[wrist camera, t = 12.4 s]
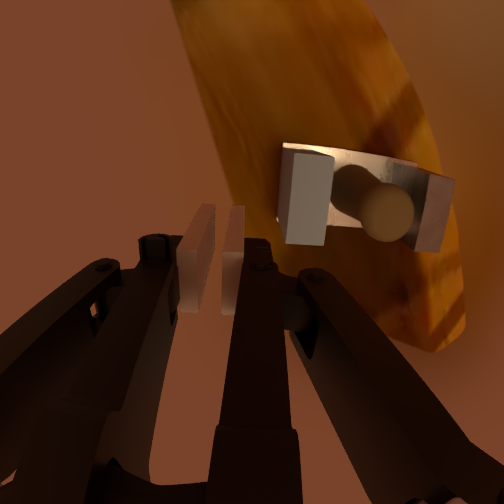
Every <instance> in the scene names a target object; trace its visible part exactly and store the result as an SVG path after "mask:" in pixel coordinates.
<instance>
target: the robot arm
mask: <svg viewBox="0 0 504 504" xmlns="http://www.w3.org/2000/svg"><path fill="white" fill-rule="evenodd" d="M244 228H245V206H240V205H232V207H231V211H230V216H229V221H228V226H227V232H226V236H225V241H224V246H223V252H222V315H235V316H234V322H233V329H232V336H231V343H230V350H229V357H228V364H227V371H226V378H225V385H224V392H223V399H222V406H221V413H220V420H219V424H218V425H217V426H216V430H215V435H214V441H213V448H212V455H211V461H210V469H209V476H208V482H200V483H191V484H178V485H156V484H153V483H151V482H150V475H149V458H150V451H151V446H152V440H153V433H154V428H155V423H156V417H157V412H158V406H159V402H160V396H161V391H162V387H163V381H164V377H165V371H166V368H167V363H168V359H169V354H170V349H171V345H172V341H173V337H174V332H175V328H176V324H177V320H178V315H177V306H178V303H180V312H190V313H199V309H200V305H201V301H202V297H203V293H204V289H205V285H206V281H207V277H208V273H209V269H210V265H211V261H212V257H213V253H214V249H215V204H202V205H201V207H200V208H199V210H198V212H197V213H196V215H195V217H194V219H193V220H192V222H191V224H190V226H189V227H188V229H187V231H186V233H185V234H184V236H177V235H171V236H169V235H166V234H150V235H146V236H143V237H141V238H140V239H138V242H139V253H140V261H139V263H138V264H137V266H136V267H135V268H133V269H124V270H120V263H119V262H118V261H117V260H115V259H108V258H104V259H103V258H102V259H99V260H97V261H94V262H93V263H91V264H89V265H88V266H86V267H85V268H83V269H82V270H81V271H80V272H78V273H77V274H75V275H74V276H73V277H72V278H70V279H69V280H67V281H66V282H65V283H63V284H62V285H61V286H60V287H58V288H57V289H55V290H54V291H53V292H52V293H50V294H49V295H48V296H46V297H45V298H44V299H43V300H41V301H40V302H39V303H38V304H37V305H35V306H34V307H33V308H31V309H30V310H29V311H28V312H27V313H25V314H24V315H23V316H22V317H21V318H19V319H18V320H17V321H16V322H15V323H14V324H12V325H11V326H10V327H9V328H8V329H6V330H5V331H4V332H3V333H2V334H1V335H0V504H303V496H302V480H301V464H300V450H299V440H298V434H297V431H296V429H292V426H291V414H290V400H289V385H288V373H287V360H286V347H285V335H284V329H286V330H289V335H290V338H291V340H292V342H293V344H294V346H295V348H296V351H297V353H298V355H299V357H300V359H301V361H302V363H303V365H304V367H305V369H306V371H307V373H308V375H309V377H310V379H311V381H312V383H313V385H314V387H315V390H316V392H317V394H318V396H319V398H320V400H321V402H322V404H323V406H324V408H325V410H326V412H327V414H328V416H329V418H330V420H331V422H332V424H333V426H334V428H335V431H336V432H337V435H338V437H339V439H340V441H341V442H342V445H343V447H344V449H345V451H346V453H347V455H348V457H349V459H350V461H351V463H352V465H353V467H354V469H355V471H356V473H357V475H358V477H359V479H360V481H361V483H362V485H363V488H364V489H365V492H366V493H367V496H368V497H369V499H370V501H371V503H372V504H504V465H502V464H501V463H499V462H498V461H497V460H495V459H494V458H492V457H491V456H489V455H488V454H487V453H485V452H484V451H482V450H481V449H480V448H478V447H477V446H475V445H474V444H473V443H471V442H470V441H469V439H468V438H467V437H466V435H465V434H464V432H463V431H462V430H461V428H460V427H459V426H458V424H457V423H456V422H455V421H454V419H453V418H452V417H451V415H450V414H449V413H448V411H447V410H446V409H445V407H444V406H443V405H442V404H441V402H440V401H439V400H438V398H437V397H436V396H435V395H434V393H433V392H432V391H431V390H430V388H429V387H428V386H427V385H426V383H425V382H424V381H423V380H422V378H421V377H420V376H419V375H418V373H417V372H416V371H415V370H414V369H413V367H412V366H411V365H410V364H409V363H408V361H407V360H406V359H405V358H404V357H403V355H402V354H401V353H400V352H399V351H398V349H397V348H396V347H395V346H394V345H393V343H392V342H391V341H390V340H389V339H388V337H387V336H386V335H385V334H384V333H383V332H382V330H381V329H380V328H379V327H378V326H377V325H376V323H375V322H374V321H373V320H372V319H371V318H370V316H369V315H368V314H367V313H366V312H365V311H364V310H363V308H362V307H361V306H360V305H359V304H358V303H357V302H356V301H355V299H354V298H353V297H352V296H351V295H350V294H349V293H348V292H347V290H346V289H345V288H344V287H343V286H342V285H341V284H340V283H339V282H338V280H337V279H336V278H335V277H334V276H333V275H332V274H330V273H329V272H327V271H325V270H323V269H319V268H308V269H303V270H301V271H300V272H299V274H298V278H296V277H291V276H287V275H284V274H282V273H280V272H279V271H278V266H277V264H276V263H275V262H273V257H272V251H271V246H270V243H269V242H268V241H267V240H266V239H258V238H244ZM93 303H94V304H95V308H96V312H97V313H96V314H95V315H94V316H93V317H92V315H91V311H90V307H91V306H92V304H93ZM16 469H17V470H16ZM15 470H16V473H15V475H14V478H13V481H11V482H9V483H7V484H5V485H2V484H1V482H2V481H4V480H5V479H7V478H8V477H9V476H10V475H11V474H12V473H13V472H14V471H15Z"/></svg>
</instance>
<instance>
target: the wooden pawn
mask: <svg viewBox="0 0 504 504" xmlns="http://www.w3.org/2000/svg"><path fill="white" fill-rule="evenodd" d="M330 201H331V203H332V205H333V206H334V207H335V208H336V209H337V210H338V211H340V212H341V213H343V214H345V215H348V216H350V217H352V218H354V219H356V220H358V221H360V222H361V226H362V227H363V229H364V230H365V231H366V233H367V234H368V235H370V236H371V237H372V238H374V239H376V240H379V241H383V242H390V241H394V240H396V239H399V238H401V237H402V236H403V235H404V234H406V233H407V231H408V230H409V228H410V227H411V225H412V222H413V219H414V207H413V202H412V200H411V198H410V196H409V195H408V193H407V192H406V191H405V190H403V189H402V188H401V187H400V186H397V185H394V184H391V183H383V182H381V181H380V180H379V179H378V178H377V177H375V176H374V175H373V174H372V173H371V172H369V171H368V170H367V169H365V168H364V167H363V166H360V165H356V164H349V165H345V166H343V167H341V168H339V169H338V170H337V171H336V172H335V173H334V174H333V181H332V189H331V197H330Z"/></svg>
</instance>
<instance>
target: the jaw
mask: <svg viewBox="0 0 504 504" xmlns="http://www.w3.org/2000/svg"><path fill="white" fill-rule="evenodd" d="M334 163H335V157H333V156H330V155H327V154H324V153H321V152H318V151H315V150H307V149H297V148H286V147H283V154H282V166H281V179H280V191H279V202H278V213H277V218H278V221H279V225H280V228H281V231H282V234H283V237H284V240H285V243H286V244H304V245H322V246H324V239H325V233H326V226H327V219H328V212H329V205H330V197H331V189H332V181H333V172H334Z"/></svg>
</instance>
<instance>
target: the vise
mask: <svg viewBox="0 0 504 504" xmlns="http://www.w3.org/2000/svg"><path fill="white" fill-rule="evenodd" d="M283 147H286V148H297V149H307V150H315V151H318V152H321V153H324V154H327V155H330V156H333V157H335V163H334V172H333V174H334V173H335V172H336V171H337V170H338V169H339V168H341V167H343V166H345V165H349V164H356V165H360V166H363V167H364V168H365V169H367V170H368V171H369V172H371V173H372V174H373V175H374V176H375V177H377V178H378V179H379V180H380V181H381V182H383V183H391V184H394V185H397V186H400V187H401V188H402V189H403V190H405V191H406V192H407V193H408V195H409V196H410V198H411V200H412V202H413V207H414V219H413V222H412V225H411V227H410V228H409V230H408V231H407V233H406V234H404V235H403V236H402V237H401V238H399V239H401V240H402V241H403V242H404V243H405V244H406V245H408V246H409V247H410V248H411V249H412V250H413V251H420V252H435V253H439V251H440V247H441V243H442V240H443V236H444V232H445V228H446V223H447V219H448V215H449V210H450V205H451V200H452V195H453V190H454V184H455V180H454V179H451V178H448V177H445V176H443V175H440V174H437V173H434V172H431V171H428V170H425V169H421V168H418V167H417V165H418V163H415V162H411V161H406V160H401V159H397V158H391V157H386V156H381V155H375V154H370V153H364V152H357V151H351V150H344V149H337V148H330V147H322V146H314V145H305V144H295V143H284V142H282V150H281V163H280V175H279V188H278V199H277V211H276V221H277V222H279V221H278V218H277V213H278V202H279V191H280V179H281V166H282V154H283ZM327 225H336V226H349V227H361V228H363V227H362V226H361V222H360V221H358V220H356V219H354V218H352V217H350V216H348V215H345V214H343V213H341V212H340V211H338V210H337V209H336V208H335V207H334V206H333V205H332V203H331V201H330V205H329V212H328V219H327Z"/></svg>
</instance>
